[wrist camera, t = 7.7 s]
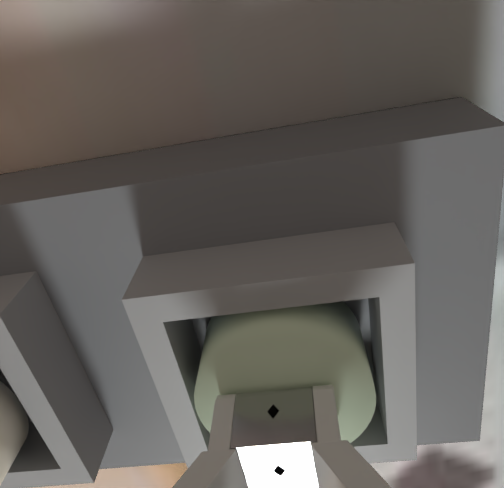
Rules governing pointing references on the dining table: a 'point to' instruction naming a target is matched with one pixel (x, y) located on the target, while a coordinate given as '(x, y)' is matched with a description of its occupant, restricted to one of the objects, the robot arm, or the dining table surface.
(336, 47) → the dining table surface
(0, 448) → the cream button
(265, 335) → the sage button
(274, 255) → the panel
